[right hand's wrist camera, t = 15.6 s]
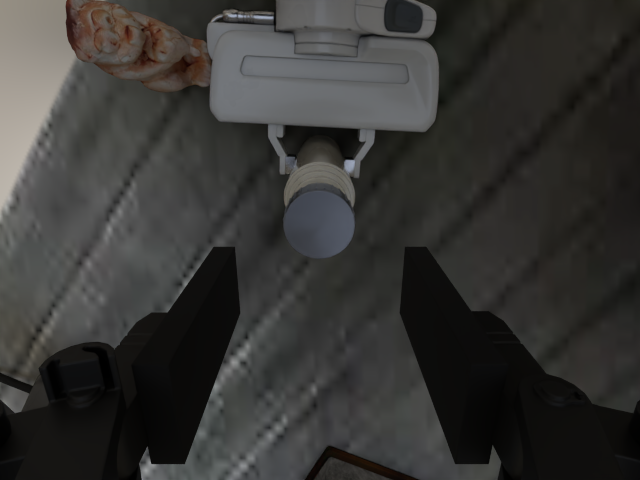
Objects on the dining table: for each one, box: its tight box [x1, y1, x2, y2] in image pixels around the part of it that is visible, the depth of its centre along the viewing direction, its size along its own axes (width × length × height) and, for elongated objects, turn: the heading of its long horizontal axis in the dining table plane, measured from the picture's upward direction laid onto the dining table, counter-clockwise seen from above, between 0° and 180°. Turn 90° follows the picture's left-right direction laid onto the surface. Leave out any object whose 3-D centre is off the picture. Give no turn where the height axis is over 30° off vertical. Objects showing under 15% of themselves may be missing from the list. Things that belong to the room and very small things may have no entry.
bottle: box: [284, 135, 355, 207], centre depth 32 cm, size 5×5×24 cm
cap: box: [283, 182, 356, 259], centre depth 21 cm, size 4×4×2 cm
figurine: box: [66, 0, 212, 92], centre depth 33 cm, size 6×8×15 cm
